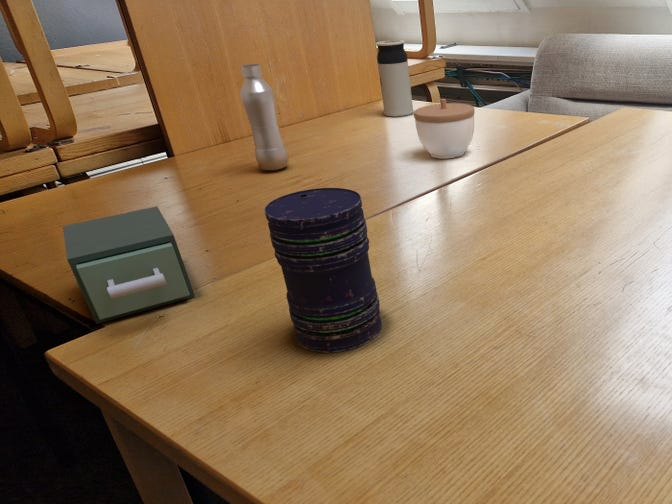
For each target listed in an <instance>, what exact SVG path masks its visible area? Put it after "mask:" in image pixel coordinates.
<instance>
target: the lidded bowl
mask: <svg viewBox="0 0 672 504" xmlns="http://www.w3.org/2000/svg"><path fill="white" fill-rule="evenodd" d="M439 102H440V103H437V104H430V105H425V106H422V107H417V109H415V110H413V118H414V122H415V130H416V134H417V137H418V140H419V143H420V145H421V146H422V147H423V149H424V150H426V152H427V153H429V154H430V156H431V157H432V158H434V159H440V160H441V159H444V160H445V159H454V158H459V157H462V156H463V155H465V151H466V150H468V148H469V147H470V145H471V144H472V141H473V138H474V133H475V107H474V106H473V105H471V104H467V103H459V102H455V103H454V102H453V103H452V102H450V103H447V99H446V98H441V99H439Z"/></svg>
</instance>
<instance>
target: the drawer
mask: <svg viewBox="0 0 672 504" xmlns="http://www.w3.org/2000/svg"><path fill="white" fill-rule="evenodd" d="M141 249H142V250H138V251H134V252H130V253H125V254H121V255H117V256H113V257H108V258H107V257H103V258H98V259H94V260H90V261H86V262H83V264H79V265H76V267H77V271H78V273H79V275H80V277H81V279H82V282H83V284H84V286H85V288H86V290H87V293H88V295H89V297H90V299H91V301H92V304H93V306H94V308H95V310H96V312H97V315H98V317H99V319H100V320H101V319H105V318H109V317H112V316H116V315H119V314H123V313H127V312H130V311H134V310H138V309H141V308H145V307H149V306H152V305H156V304H160V303H163V302H167V301H171V300H174V299H178V298H181V297H185V296H189V295H190V294H189V291H188V288H187V286H186V283H185V280H184V277H183V274H182V271H181V269H180V266H179V263H178V260H177V257H176V254H175V251H174V249H173V246H172V244H171V243H168V244H164V243H162V244H158V245H153V246H149V247H145V248H141Z"/></svg>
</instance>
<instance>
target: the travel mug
mask: <svg viewBox="0 0 672 504" xmlns="http://www.w3.org/2000/svg"><path fill="white" fill-rule="evenodd" d="M375 45H376V46H377V49H378V52H377V55H376V60H377V68H378V75H379V83H380V91H381V97H382V106H383V112H384V115H385V116H386V117H389V118H390V117H393V118H399V117H405V116H409V115H412V113H414V106H413V105H414V104H413V96H412V88H411V77H410V70H409V61H408V54H407V52H406V50H405V49H404V48H405V40H403V39H389V40H381V41H376V43H375Z"/></svg>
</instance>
